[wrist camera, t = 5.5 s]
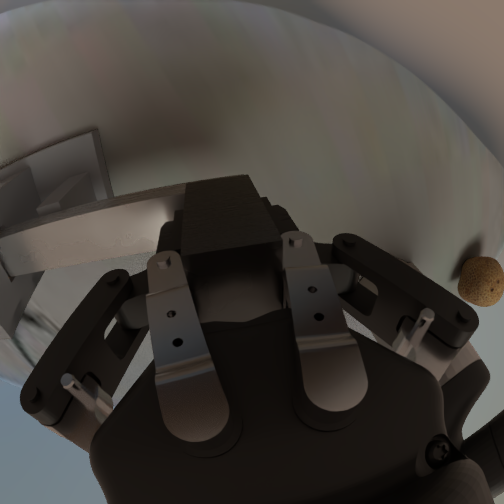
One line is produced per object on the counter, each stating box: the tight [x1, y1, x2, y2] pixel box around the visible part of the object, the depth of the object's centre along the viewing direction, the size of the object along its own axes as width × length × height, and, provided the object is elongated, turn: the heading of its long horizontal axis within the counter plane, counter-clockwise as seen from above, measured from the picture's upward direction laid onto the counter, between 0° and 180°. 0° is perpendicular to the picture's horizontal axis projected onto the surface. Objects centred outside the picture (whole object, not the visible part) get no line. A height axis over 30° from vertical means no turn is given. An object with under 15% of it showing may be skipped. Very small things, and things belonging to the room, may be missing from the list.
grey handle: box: [0, 174, 283, 323], centre depth 11 cm, size 18×4×8 cm, turn 93°
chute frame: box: [0, 129, 114, 339], centre depth 14 cm, size 16×10×12 cm, turn 93°
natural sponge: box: [458, 257, 504, 307], centre depth 33 cm, size 9×9×10 cm
